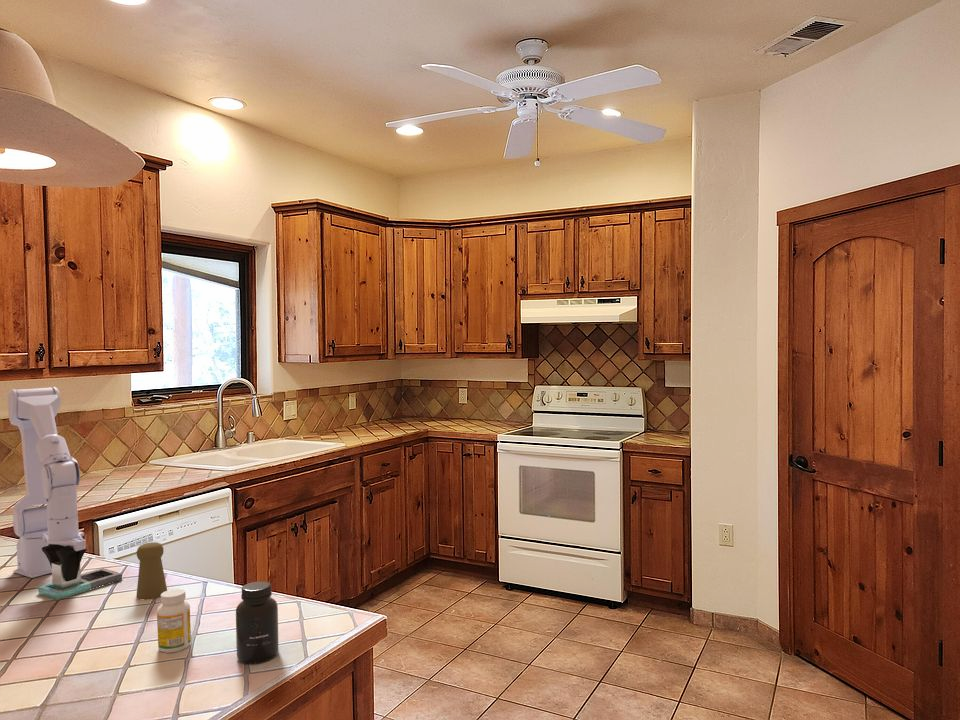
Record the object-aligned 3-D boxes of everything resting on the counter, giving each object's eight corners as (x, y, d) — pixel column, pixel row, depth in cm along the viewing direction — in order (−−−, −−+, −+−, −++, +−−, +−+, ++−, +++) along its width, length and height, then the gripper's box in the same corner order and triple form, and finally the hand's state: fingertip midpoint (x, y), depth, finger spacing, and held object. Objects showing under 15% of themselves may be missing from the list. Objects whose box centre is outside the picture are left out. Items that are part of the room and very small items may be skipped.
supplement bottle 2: (255, 668, 112) (252, 596, 112) (228, 659, 116) (225, 588, 115) (287, 651, 118) (285, 582, 118) (260, 643, 122) (258, 576, 121)
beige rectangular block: (52, 590, 150) (51, 563, 150) (71, 584, 154) (70, 558, 154) (62, 593, 148) (61, 566, 148) (81, 587, 152) (80, 560, 151)
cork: (136, 592, 149) (134, 542, 149) (167, 587, 152) (165, 538, 151) (135, 601, 143) (133, 549, 143) (167, 596, 146) (165, 545, 146)
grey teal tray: (38, 593, 150) (38, 586, 150) (103, 574, 162) (102, 568, 162) (57, 600, 146) (57, 593, 146) (122, 579, 157) (121, 573, 157)
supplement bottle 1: (174, 655, 118) (172, 600, 118) (151, 651, 120) (148, 596, 120) (198, 642, 123) (196, 589, 123) (175, 638, 125) (173, 586, 125)
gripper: (99, 516, 150) (101, 578, 150) (64, 509, 158) (67, 567, 158) (65, 524, 144) (68, 588, 144) (31, 516, 152) (34, 577, 152)
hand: (65, 578), depth 151 cm, fingers closed on beige rectangular block, 4 cm apart
